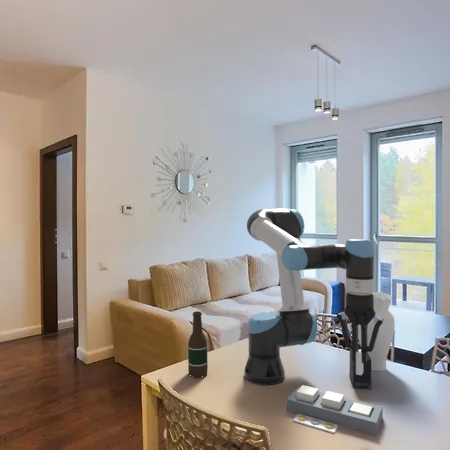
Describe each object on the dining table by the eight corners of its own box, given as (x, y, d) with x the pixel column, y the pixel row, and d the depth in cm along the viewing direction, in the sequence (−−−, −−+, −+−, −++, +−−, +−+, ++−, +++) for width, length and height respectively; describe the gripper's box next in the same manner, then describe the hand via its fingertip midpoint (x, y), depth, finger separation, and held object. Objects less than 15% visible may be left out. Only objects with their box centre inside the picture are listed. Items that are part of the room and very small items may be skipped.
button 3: (349, 418, 105) (349, 409, 105) (354, 410, 109) (353, 402, 109) (368, 423, 102) (368, 414, 102) (372, 414, 106) (372, 406, 106)
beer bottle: (184, 376, 139) (183, 313, 139) (193, 368, 146) (192, 309, 146) (202, 379, 136) (201, 315, 136) (211, 371, 143) (210, 310, 143)
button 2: (322, 405, 109) (322, 397, 109) (327, 398, 114) (327, 390, 114) (339, 410, 106) (339, 402, 106) (344, 402, 111) (344, 394, 111)
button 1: (296, 399, 113) (296, 391, 113) (302, 392, 118) (302, 385, 118) (313, 403, 111) (313, 395, 111) (318, 396, 115) (318, 388, 115)
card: (293, 421, 107) (293, 419, 107) (298, 415, 110) (298, 413, 110) (334, 433, 100) (334, 431, 100) (338, 426, 103) (338, 424, 103)
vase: (375, 377, 135) (374, 299, 135) (347, 363, 149) (346, 292, 149) (404, 370, 141) (403, 295, 141) (374, 358, 155) (373, 289, 154)
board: (286, 410, 113) (286, 399, 113) (298, 397, 121) (298, 386, 121) (376, 435, 99) (376, 422, 99) (382, 418, 107) (382, 406, 107)
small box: (372, 389, 126) (372, 359, 126) (352, 388, 127) (352, 358, 127) (367, 376, 136) (366, 348, 136) (348, 375, 138) (348, 347, 137)
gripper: (333, 292, 106) (333, 372, 106) (381, 297, 99) (381, 383, 99) (340, 288, 112) (340, 364, 113) (386, 292, 105) (386, 373, 106)
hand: (359, 373), depth 106 cm, fingers closed
